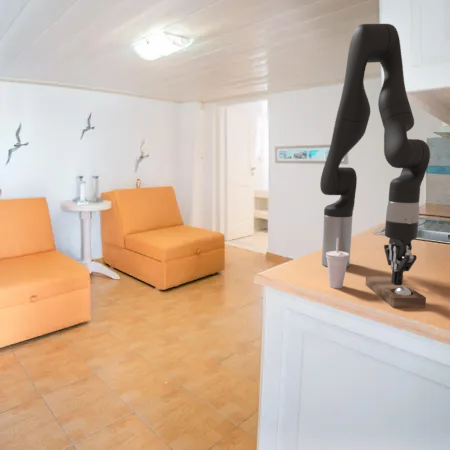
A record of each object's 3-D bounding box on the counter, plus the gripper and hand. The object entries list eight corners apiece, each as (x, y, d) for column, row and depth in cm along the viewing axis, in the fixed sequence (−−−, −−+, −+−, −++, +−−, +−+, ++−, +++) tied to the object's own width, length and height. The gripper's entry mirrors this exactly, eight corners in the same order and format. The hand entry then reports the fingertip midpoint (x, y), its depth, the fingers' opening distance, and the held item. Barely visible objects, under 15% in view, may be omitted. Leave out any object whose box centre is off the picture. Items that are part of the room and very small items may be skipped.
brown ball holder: (365, 284, 108) (366, 276, 108) (392, 284, 109) (393, 276, 108) (393, 307, 92) (393, 297, 91) (425, 307, 92) (426, 297, 91)
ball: (392, 283, 96) (400, 292, 92) (408, 283, 96) (416, 292, 92) (390, 296, 98) (396, 305, 94) (405, 296, 98) (412, 305, 94)
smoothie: (343, 282, 110) (345, 236, 108) (350, 289, 104) (353, 240, 102) (321, 282, 110) (323, 236, 108) (328, 290, 104) (330, 241, 101)
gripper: (376, 215, 101) (372, 276, 104) (400, 223, 88) (394, 293, 91) (403, 215, 102) (398, 276, 105) (431, 223, 89) (424, 293, 92)
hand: (396, 284), depth 98 cm, fingers closed
